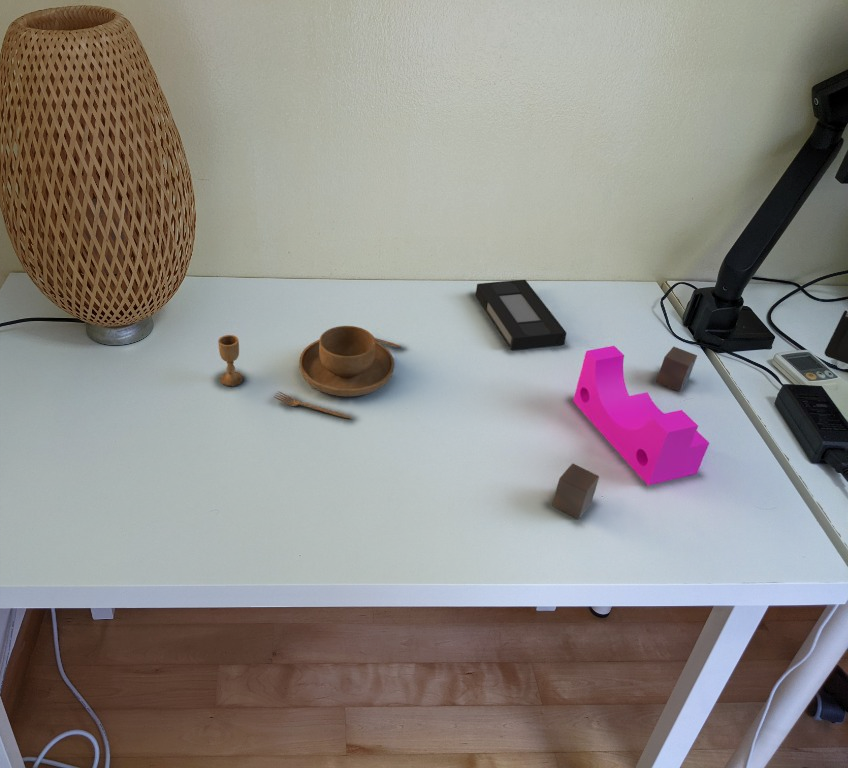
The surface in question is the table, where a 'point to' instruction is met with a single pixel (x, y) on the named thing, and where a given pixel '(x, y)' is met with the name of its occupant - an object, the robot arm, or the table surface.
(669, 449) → the toy block
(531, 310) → the vhs tape
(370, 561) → the table surface
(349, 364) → the place setting
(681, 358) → the brown cubes
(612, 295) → the table surface
